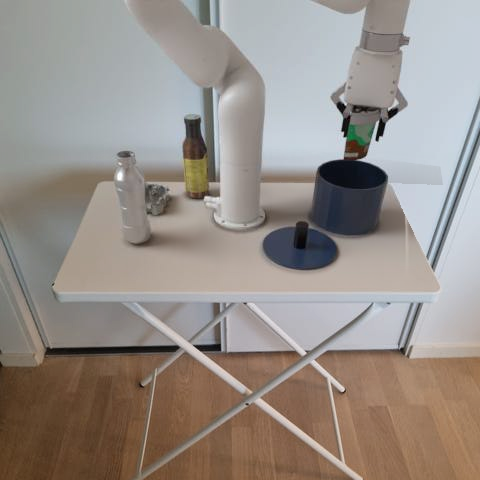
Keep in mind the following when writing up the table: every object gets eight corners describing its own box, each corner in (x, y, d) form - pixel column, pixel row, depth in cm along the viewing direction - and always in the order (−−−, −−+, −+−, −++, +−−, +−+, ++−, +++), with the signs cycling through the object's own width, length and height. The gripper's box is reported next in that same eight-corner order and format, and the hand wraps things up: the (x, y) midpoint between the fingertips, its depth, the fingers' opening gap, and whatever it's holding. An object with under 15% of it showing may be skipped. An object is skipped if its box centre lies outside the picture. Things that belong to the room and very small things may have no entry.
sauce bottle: (213, 196, 122) (211, 118, 109) (192, 201, 120) (188, 123, 106) (201, 186, 126) (198, 110, 113) (181, 191, 124) (175, 114, 110)
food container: (372, 166, 97) (383, 116, 90) (342, 162, 98) (351, 113, 91) (372, 144, 106) (382, 97, 99) (345, 141, 107) (353, 95, 100)
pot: (306, 231, 110) (312, 184, 102) (315, 200, 122) (321, 155, 114) (375, 241, 107) (387, 194, 99) (377, 208, 119) (388, 164, 111)
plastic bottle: (137, 228, 109) (125, 145, 96) (158, 238, 107) (148, 153, 93) (117, 240, 106) (101, 155, 92) (138, 250, 103) (125, 164, 89)
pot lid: (255, 264, 100) (256, 238, 95) (270, 226, 112) (272, 201, 107) (331, 277, 97) (337, 251, 92) (339, 236, 109) (344, 211, 104)
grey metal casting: (161, 217, 114) (159, 202, 111) (132, 213, 115) (129, 198, 112) (172, 196, 122) (171, 181, 119) (145, 193, 122) (143, 179, 120)
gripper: (426, 41, 88) (402, 136, 100) (336, 34, 91) (323, 126, 104) (428, 50, 83) (402, 149, 95) (332, 42, 86) (318, 138, 98)
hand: (361, 136), depth 99 cm, fingers closed on food container, 6 cm apart
